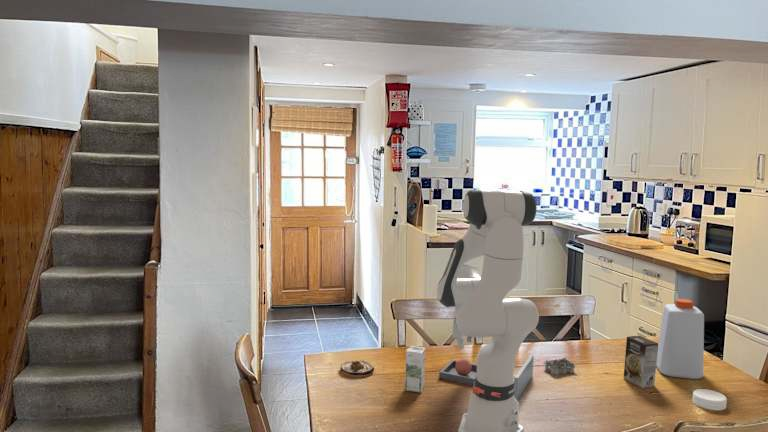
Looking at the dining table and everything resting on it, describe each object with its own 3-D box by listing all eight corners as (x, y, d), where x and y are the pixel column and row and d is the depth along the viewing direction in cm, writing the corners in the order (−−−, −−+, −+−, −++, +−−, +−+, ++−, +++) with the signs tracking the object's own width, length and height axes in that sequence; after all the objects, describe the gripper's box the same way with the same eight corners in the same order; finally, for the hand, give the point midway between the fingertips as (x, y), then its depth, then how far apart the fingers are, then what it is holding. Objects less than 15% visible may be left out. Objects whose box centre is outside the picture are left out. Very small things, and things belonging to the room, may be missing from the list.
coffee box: (622, 378, 213) (625, 336, 211) (636, 376, 215) (639, 334, 213) (641, 388, 204) (645, 344, 202) (655, 386, 206) (659, 342, 204)
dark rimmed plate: (381, 378, 208) (382, 367, 208) (341, 382, 205) (341, 370, 204) (372, 363, 223) (372, 353, 222) (333, 366, 219) (334, 356, 218)
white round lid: (696, 395, 200) (697, 385, 199) (729, 404, 193) (730, 394, 193) (688, 404, 192) (689, 394, 192) (722, 414, 186) (722, 403, 185)
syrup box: (424, 386, 201) (425, 346, 199) (420, 393, 195) (422, 352, 194) (408, 384, 203) (409, 344, 201) (404, 391, 197) (405, 350, 195)
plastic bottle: (661, 376, 215) (667, 304, 212) (652, 362, 230) (658, 294, 226) (705, 381, 212) (712, 307, 208) (694, 366, 226) (700, 297, 223)
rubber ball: (468, 380, 208) (468, 365, 206) (453, 376, 211) (452, 362, 209) (473, 371, 213) (473, 357, 211) (458, 368, 216) (458, 354, 214)
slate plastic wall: (516, 401, 191) (518, 378, 190) (513, 400, 192) (514, 377, 191) (532, 376, 213) (533, 355, 212) (529, 375, 213) (530, 354, 212)
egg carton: (553, 376, 214) (553, 366, 213) (541, 369, 221) (542, 358, 220) (577, 373, 217) (577, 362, 217) (565, 366, 224) (565, 355, 224)
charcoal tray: (476, 386, 203) (476, 379, 202) (439, 378, 209) (439, 371, 208) (487, 372, 215) (487, 366, 215) (452, 365, 221) (452, 359, 221)
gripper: (465, 315, 198) (464, 354, 199) (483, 303, 216) (481, 339, 217) (448, 313, 201) (447, 351, 202) (467, 301, 219) (465, 336, 220)
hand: (465, 345), depth 210 cm, fingers open, 8 cm apart
